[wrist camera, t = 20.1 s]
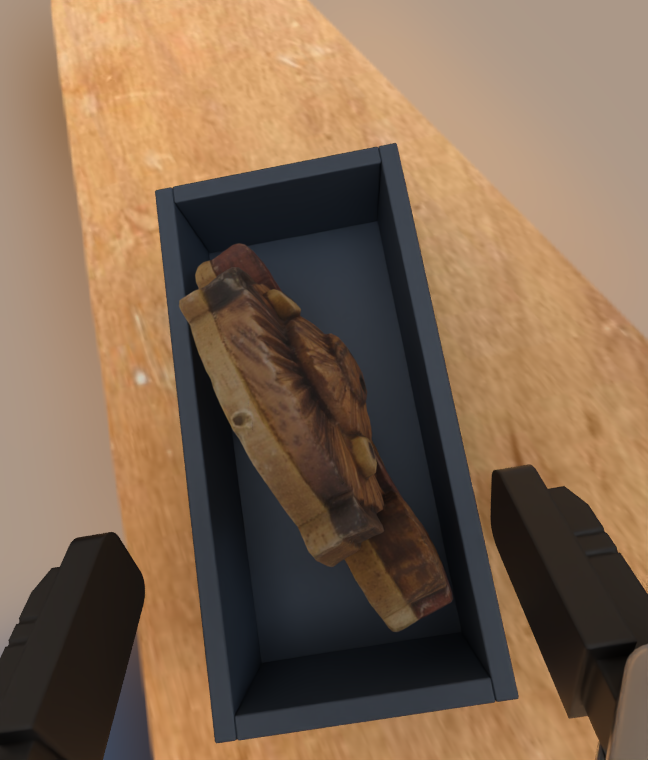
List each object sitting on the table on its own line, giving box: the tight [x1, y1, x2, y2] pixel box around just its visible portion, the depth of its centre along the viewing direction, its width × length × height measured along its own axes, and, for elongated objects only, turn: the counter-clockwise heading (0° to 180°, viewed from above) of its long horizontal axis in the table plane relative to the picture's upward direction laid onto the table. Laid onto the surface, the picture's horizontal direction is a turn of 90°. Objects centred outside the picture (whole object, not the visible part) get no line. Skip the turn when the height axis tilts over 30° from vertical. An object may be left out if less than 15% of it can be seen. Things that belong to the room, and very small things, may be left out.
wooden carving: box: [179, 243, 453, 632], centre depth 19 cm, size 16×5×10 cm, turn 34°
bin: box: [155, 143, 519, 743], centre depth 22 cm, size 11×22×6 cm, turn 9°
